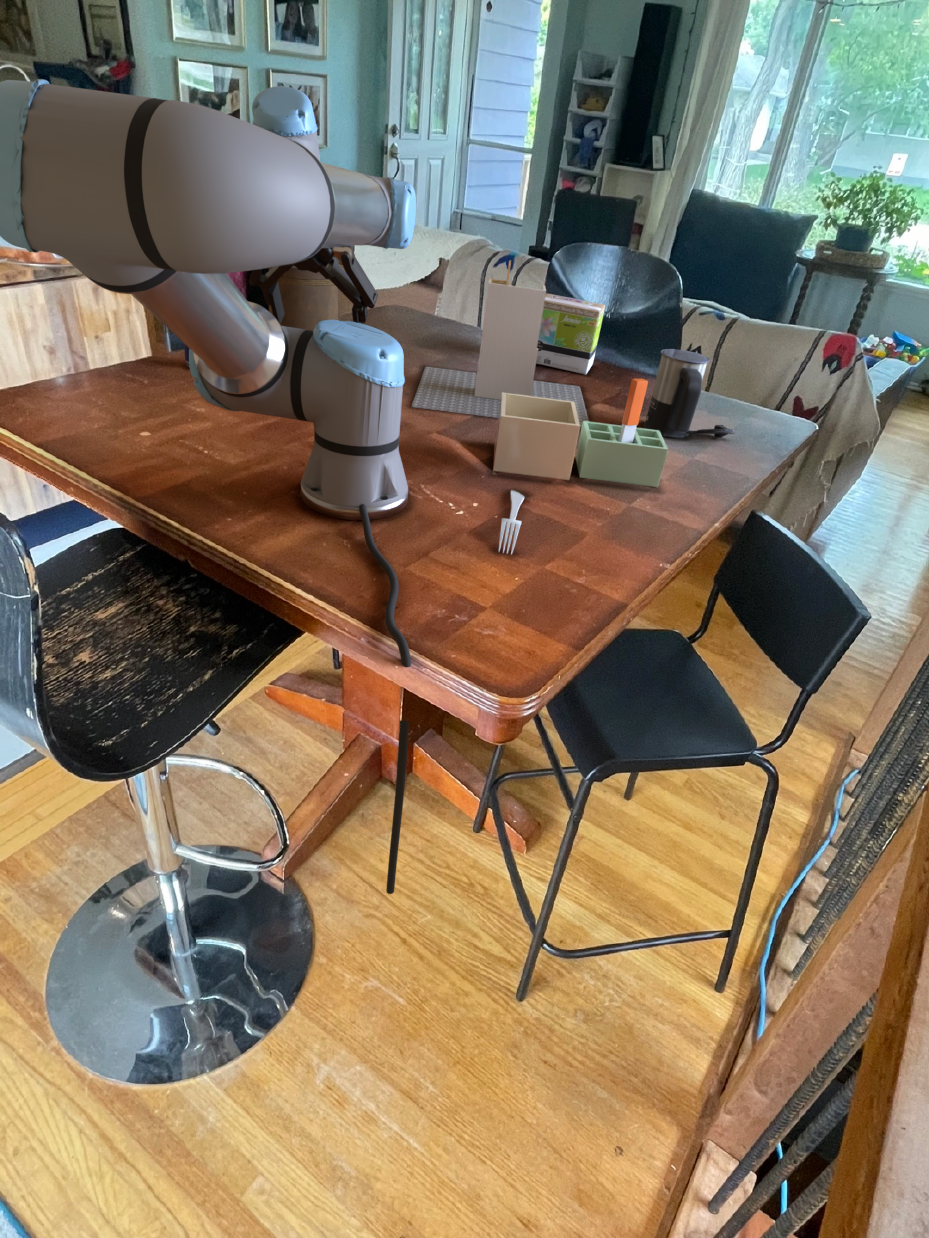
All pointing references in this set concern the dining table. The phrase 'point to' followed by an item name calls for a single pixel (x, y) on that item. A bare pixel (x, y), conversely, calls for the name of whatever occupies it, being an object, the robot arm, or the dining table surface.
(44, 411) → the dining table surface
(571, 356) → the tea box
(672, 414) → the milk frother
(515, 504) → the fork
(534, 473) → the beige square open box
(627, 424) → the knife
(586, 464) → the green compartment organizer
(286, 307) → the wooden container
